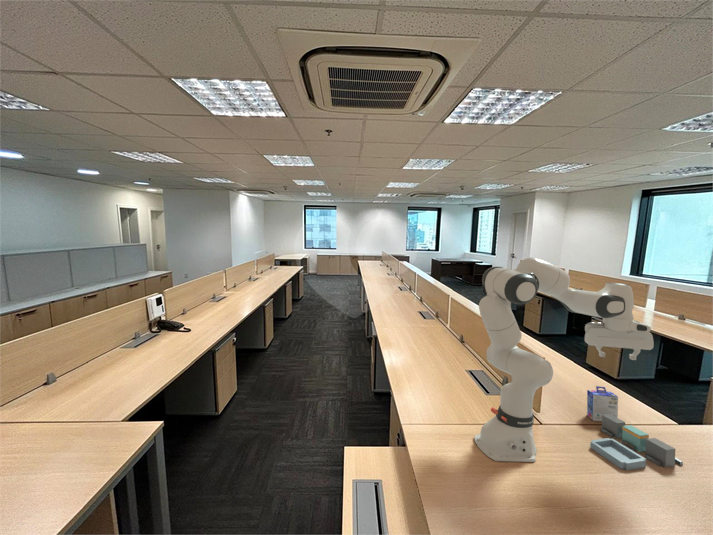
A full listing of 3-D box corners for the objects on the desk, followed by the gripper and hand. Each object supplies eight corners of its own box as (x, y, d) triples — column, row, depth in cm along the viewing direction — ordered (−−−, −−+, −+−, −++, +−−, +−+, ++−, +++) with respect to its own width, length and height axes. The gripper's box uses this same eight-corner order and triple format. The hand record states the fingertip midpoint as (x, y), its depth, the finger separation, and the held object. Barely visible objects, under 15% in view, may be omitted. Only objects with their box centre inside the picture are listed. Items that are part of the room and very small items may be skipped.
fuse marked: (639, 452, 106) (640, 435, 106) (621, 441, 112) (622, 426, 112) (648, 450, 107) (648, 434, 107) (630, 440, 113) (630, 425, 113)
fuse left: (616, 438, 114) (617, 423, 114) (601, 429, 120) (602, 414, 120) (624, 437, 115) (625, 422, 115) (609, 428, 121) (609, 414, 120)
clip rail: (655, 469, 98) (656, 465, 98) (593, 430, 119) (593, 427, 119) (682, 464, 100) (682, 460, 100) (616, 427, 121) (616, 424, 121)
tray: (623, 470, 97) (624, 463, 97) (588, 446, 109) (588, 440, 109) (647, 466, 99) (648, 460, 99) (610, 443, 111) (611, 437, 111)
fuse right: (665, 467, 98) (666, 450, 98) (645, 455, 104) (646, 439, 104) (674, 466, 99) (675, 448, 99) (654, 454, 105) (654, 437, 105)
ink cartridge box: (610, 417, 129) (611, 386, 129) (618, 424, 124) (619, 392, 123) (585, 414, 132) (586, 384, 131) (592, 420, 126) (593, 389, 126)
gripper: (587, 323, 110) (587, 357, 111) (656, 327, 102) (655, 364, 103) (582, 320, 116) (581, 352, 117) (646, 323, 108) (646, 358, 109)
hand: (617, 358), depth 110 cm, fingers open, 8 cm apart
